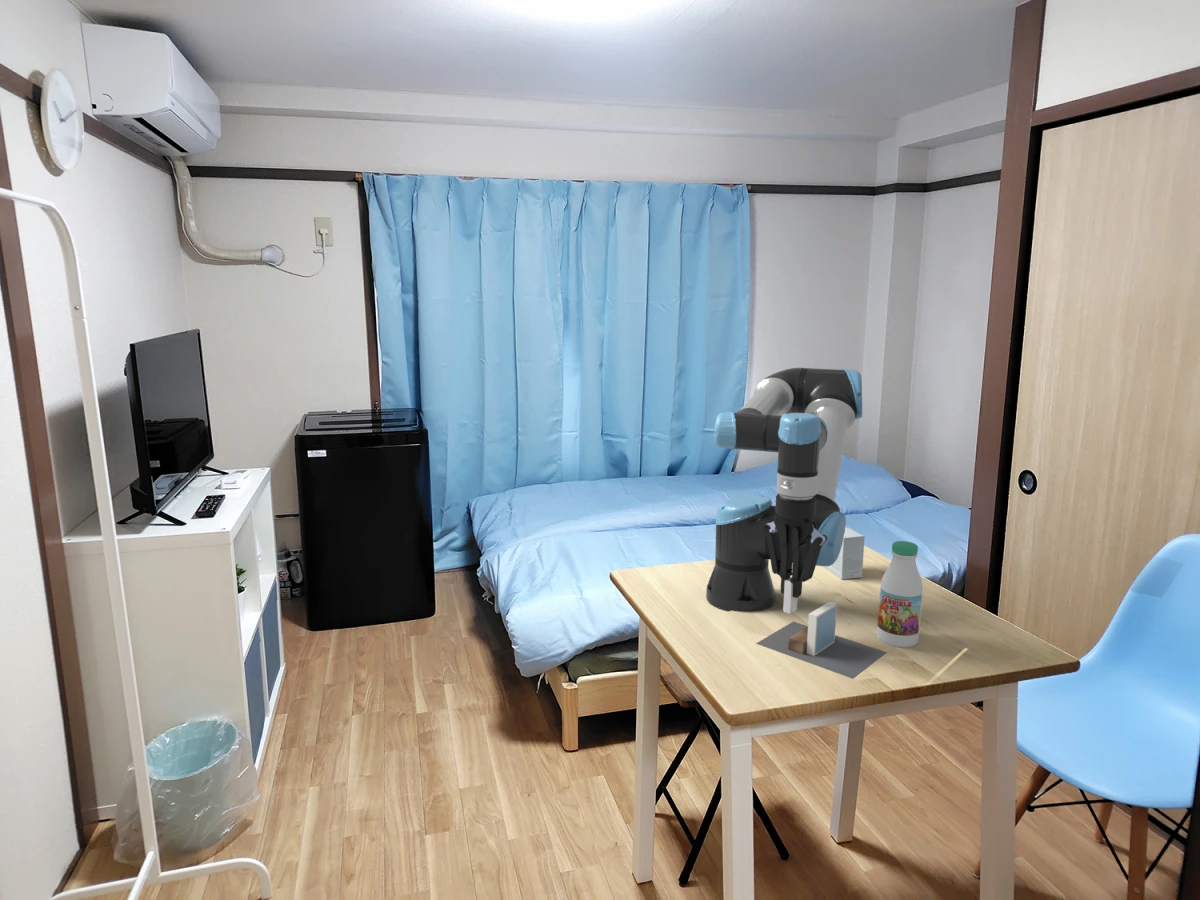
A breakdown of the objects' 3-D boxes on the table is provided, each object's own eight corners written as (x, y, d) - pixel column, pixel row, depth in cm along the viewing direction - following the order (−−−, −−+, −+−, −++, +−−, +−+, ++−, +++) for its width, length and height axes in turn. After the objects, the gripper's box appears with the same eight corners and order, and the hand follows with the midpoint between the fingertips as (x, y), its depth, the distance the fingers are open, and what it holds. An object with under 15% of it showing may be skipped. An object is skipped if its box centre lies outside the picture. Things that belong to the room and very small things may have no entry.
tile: (806, 653, 147) (808, 613, 146) (826, 639, 153) (829, 601, 151) (814, 656, 146) (816, 616, 145) (834, 642, 152) (837, 603, 150)
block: (788, 649, 149) (788, 637, 148) (814, 633, 156) (814, 621, 156) (802, 654, 147) (803, 642, 146) (828, 637, 154) (828, 626, 153)
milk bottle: (877, 629, 159) (884, 535, 154) (918, 635, 156) (927, 540, 151) (875, 645, 152) (882, 547, 147) (917, 652, 149) (926, 552, 144)
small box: (862, 578, 186) (865, 536, 184) (841, 580, 185) (843, 537, 183) (845, 566, 194) (848, 526, 192) (824, 568, 193) (827, 527, 191)
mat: (756, 645, 152) (756, 643, 152) (793, 623, 162) (793, 621, 161) (852, 680, 138) (852, 678, 138) (886, 654, 148) (886, 652, 148)
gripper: (756, 492, 150) (751, 607, 155) (817, 505, 141) (810, 626, 146) (776, 485, 155) (771, 596, 160) (837, 497, 147) (829, 614, 151)
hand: (790, 610), depth 153 cm, fingers closed
